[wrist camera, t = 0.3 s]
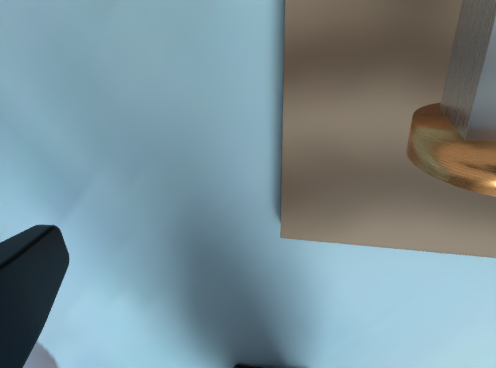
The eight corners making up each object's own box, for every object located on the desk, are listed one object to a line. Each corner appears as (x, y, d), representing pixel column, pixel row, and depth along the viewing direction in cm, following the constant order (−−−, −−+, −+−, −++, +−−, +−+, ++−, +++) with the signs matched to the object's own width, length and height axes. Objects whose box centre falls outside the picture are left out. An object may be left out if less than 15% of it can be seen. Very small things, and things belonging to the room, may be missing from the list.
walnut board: (545, 252, 22) (553, 263, 21) (282, 228, 25) (280, 238, 24) (745, -234, 13) (775, -249, 12) (291, -189, 16) (289, -198, 15)
